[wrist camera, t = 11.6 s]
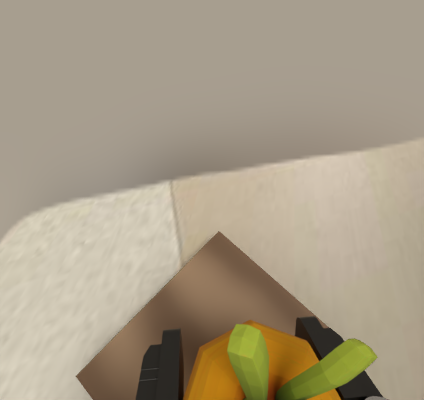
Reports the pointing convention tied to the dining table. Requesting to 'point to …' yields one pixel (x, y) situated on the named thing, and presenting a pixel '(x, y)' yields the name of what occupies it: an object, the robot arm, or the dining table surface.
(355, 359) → the carrot
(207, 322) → the walnut plinth
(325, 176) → the dining table surface
